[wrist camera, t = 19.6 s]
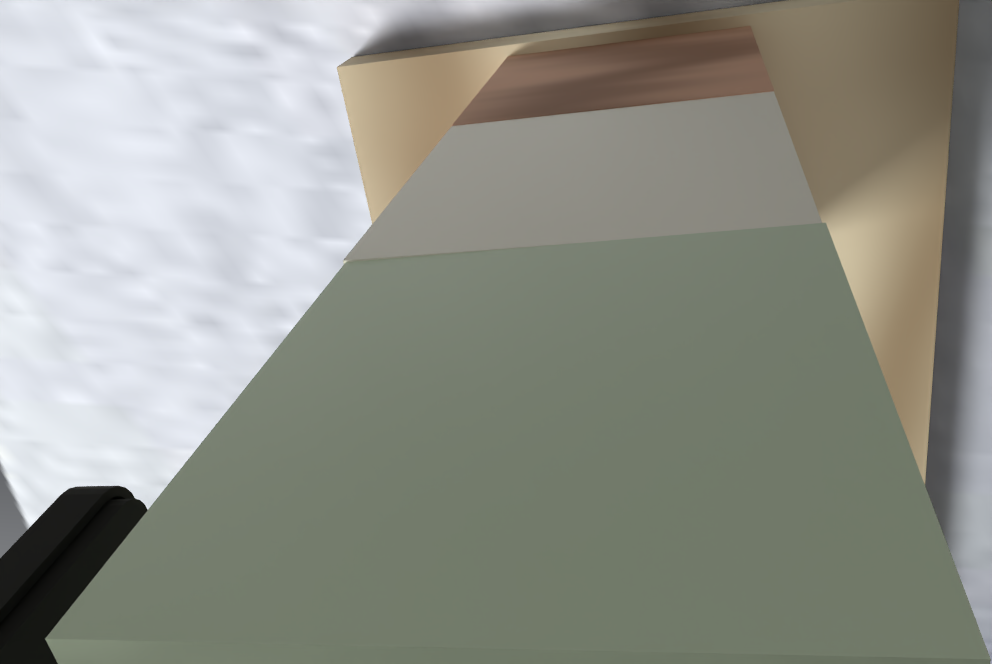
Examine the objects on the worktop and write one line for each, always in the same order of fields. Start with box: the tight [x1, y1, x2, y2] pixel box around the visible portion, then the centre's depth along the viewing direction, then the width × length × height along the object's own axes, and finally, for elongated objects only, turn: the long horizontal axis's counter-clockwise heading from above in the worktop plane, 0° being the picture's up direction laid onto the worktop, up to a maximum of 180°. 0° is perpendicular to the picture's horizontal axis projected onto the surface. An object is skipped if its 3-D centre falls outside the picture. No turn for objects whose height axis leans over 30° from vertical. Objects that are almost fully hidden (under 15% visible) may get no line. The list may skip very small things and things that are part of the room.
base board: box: [337, 0, 959, 484], centre depth 24 cm, size 14×24×7 cm, turn 9°
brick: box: [45, 223, 991, 664], centre depth 9 cm, size 6×6×6 cm
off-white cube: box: [343, 91, 822, 264], centre depth 14 cm, size 6×6×6 cm
